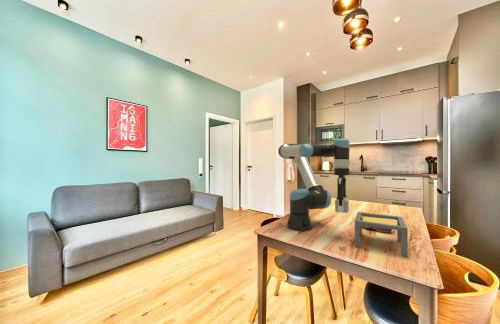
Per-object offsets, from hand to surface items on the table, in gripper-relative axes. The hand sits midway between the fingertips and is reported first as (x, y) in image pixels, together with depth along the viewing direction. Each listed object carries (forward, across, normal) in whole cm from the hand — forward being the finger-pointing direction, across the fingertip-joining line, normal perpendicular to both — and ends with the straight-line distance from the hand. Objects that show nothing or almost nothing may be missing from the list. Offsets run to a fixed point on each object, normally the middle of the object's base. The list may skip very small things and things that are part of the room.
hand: (341, 210), depth 106 cm
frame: (+15, +1, -17) cm, 22 cm away
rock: (+15, +24, -15) cm, 32 cm away
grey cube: (0, 0, 0) cm, 0 cm away
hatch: (+4, +1, -17) cm, 17 cm away
